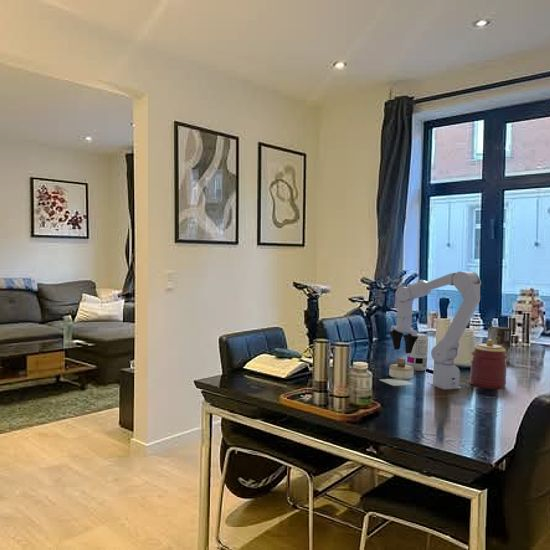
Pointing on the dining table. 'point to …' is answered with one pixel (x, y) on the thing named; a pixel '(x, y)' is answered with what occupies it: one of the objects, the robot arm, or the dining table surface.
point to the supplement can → (419, 353)
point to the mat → (396, 382)
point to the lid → (401, 366)
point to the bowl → (401, 374)
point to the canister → (488, 366)
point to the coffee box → (501, 338)
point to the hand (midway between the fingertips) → (402, 351)
